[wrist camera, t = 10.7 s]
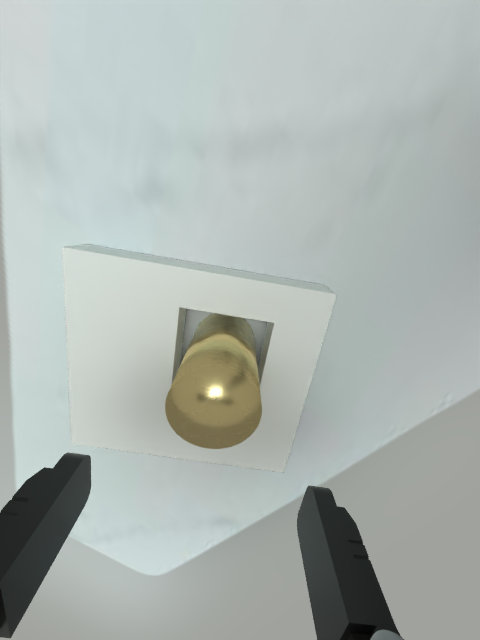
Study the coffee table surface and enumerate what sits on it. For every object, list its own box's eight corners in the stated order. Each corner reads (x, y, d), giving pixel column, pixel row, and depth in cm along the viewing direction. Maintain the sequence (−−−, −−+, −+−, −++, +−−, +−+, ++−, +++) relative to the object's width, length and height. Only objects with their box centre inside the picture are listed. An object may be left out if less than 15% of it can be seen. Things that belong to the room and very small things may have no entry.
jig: (324, 285, 21) (337, 294, 18) (279, 445, 26) (283, 472, 23) (87, 244, 20) (62, 246, 17) (90, 419, 25) (71, 443, 22)
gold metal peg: (259, 317, 22) (271, 376, 13) (248, 371, 23) (252, 454, 15) (197, 307, 21) (169, 360, 13) (191, 362, 23) (161, 442, 15)
